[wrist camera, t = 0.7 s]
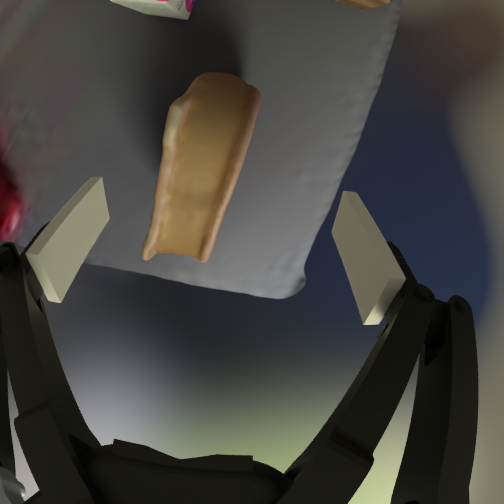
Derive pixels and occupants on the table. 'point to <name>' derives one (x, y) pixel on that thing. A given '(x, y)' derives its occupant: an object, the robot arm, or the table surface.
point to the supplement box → (161, 7)
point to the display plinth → (365, 3)
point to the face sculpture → (200, 164)
